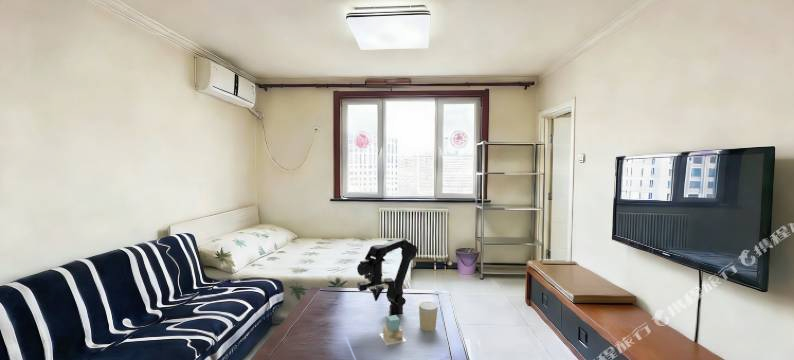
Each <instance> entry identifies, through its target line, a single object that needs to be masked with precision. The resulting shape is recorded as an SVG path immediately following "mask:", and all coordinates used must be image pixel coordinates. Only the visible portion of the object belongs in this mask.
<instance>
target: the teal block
mask: <svg viewBox="0 0 794 360" xmlns="http://www.w3.org/2000/svg"><path fill="white" fill-rule="evenodd" d="M386 325H387V328H388V329H389V331H395V330H399V326H400V318H399V317H398V315H387V316H386Z"/></svg>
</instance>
